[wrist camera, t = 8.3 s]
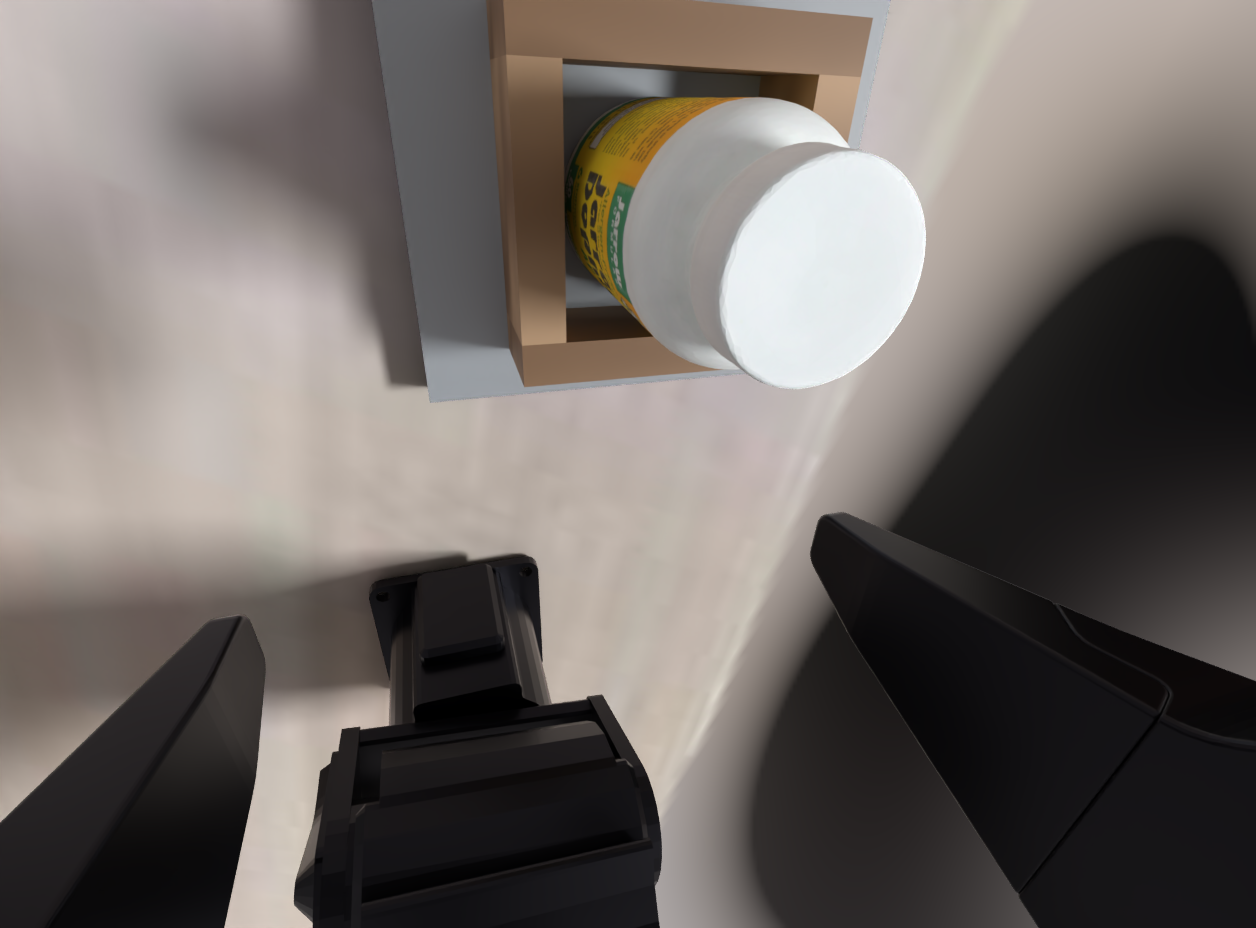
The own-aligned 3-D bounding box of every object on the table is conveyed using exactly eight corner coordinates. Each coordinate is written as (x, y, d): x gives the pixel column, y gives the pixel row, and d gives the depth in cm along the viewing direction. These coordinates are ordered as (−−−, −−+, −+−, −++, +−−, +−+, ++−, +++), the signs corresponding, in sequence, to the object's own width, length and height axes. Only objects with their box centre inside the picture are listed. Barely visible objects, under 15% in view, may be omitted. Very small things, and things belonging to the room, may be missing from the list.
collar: (757, 331, 21) (802, 362, 19) (509, 348, 19) (524, 387, 17) (805, 27, 17) (873, 17, 14) (485, -1, 14) (502, -18, 12)
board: (795, 356, 24) (812, 367, 23) (428, 387, 20) (429, 402, 19) (871, -30, 18) (898, -37, 17) (359, -92, 14) (356, -105, 13)
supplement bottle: (744, 247, 20) (965, 352, 12) (597, 318, 19) (725, 472, 12) (701, 60, 16) (964, 36, 9) (524, 142, 16) (632, 192, 8)
